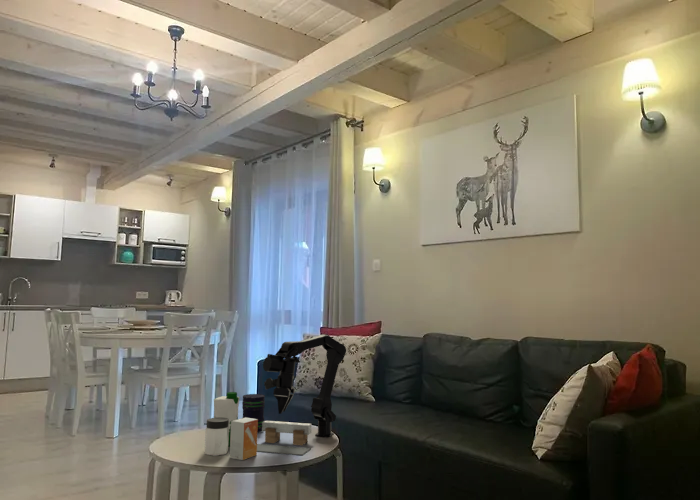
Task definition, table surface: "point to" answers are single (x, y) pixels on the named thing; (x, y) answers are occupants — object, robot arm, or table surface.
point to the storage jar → (254, 408)
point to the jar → (217, 436)
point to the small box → (243, 438)
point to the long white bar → (287, 426)
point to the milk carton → (227, 408)
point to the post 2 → (299, 437)
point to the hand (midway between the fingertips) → (281, 412)
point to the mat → (281, 449)
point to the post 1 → (271, 435)
